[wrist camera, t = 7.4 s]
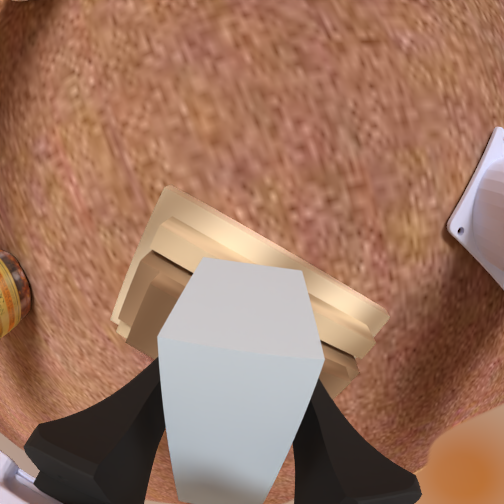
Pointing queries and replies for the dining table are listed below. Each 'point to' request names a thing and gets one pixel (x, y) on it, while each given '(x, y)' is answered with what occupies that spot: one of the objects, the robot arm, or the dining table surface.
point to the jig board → (254, 252)
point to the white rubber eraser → (236, 378)
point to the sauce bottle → (12, 293)
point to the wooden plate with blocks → (164, 299)
